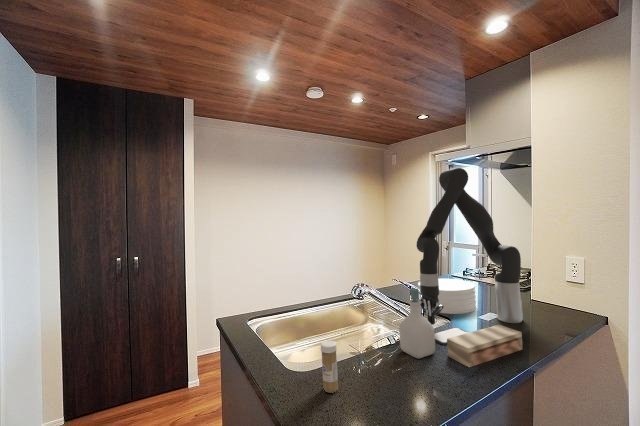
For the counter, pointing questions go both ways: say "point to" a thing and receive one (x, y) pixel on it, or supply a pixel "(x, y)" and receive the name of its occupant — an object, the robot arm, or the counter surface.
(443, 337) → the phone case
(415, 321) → the soap bottle
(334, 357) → the sprinkles bottle
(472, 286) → the plate stack
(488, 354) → the low box
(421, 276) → the robot arm
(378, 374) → the counter surface
